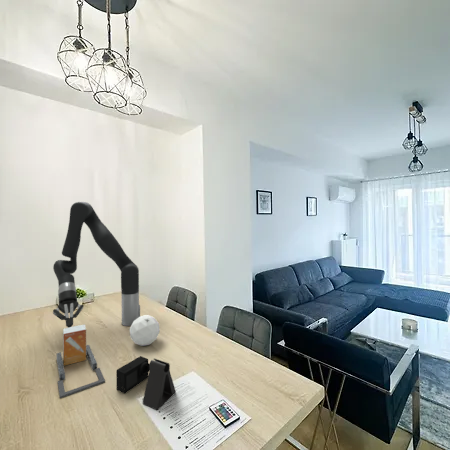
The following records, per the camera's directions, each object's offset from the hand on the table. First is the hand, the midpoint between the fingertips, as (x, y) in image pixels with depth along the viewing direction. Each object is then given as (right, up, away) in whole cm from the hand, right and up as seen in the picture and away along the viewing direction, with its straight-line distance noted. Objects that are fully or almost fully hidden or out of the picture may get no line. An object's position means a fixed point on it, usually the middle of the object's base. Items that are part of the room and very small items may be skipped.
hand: (69, 326), depth 115 cm
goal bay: (+19, -10, -25) cm, 33 cm away
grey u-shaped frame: (+11, -9, -14) cm, 20 cm away
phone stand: (+50, -10, -34) cm, 61 cm away
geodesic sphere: (+34, -9, +3) cm, 35 cm away
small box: (+9, -10, -11) cm, 17 cm away
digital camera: (+39, -10, -27) cm, 48 cm away
